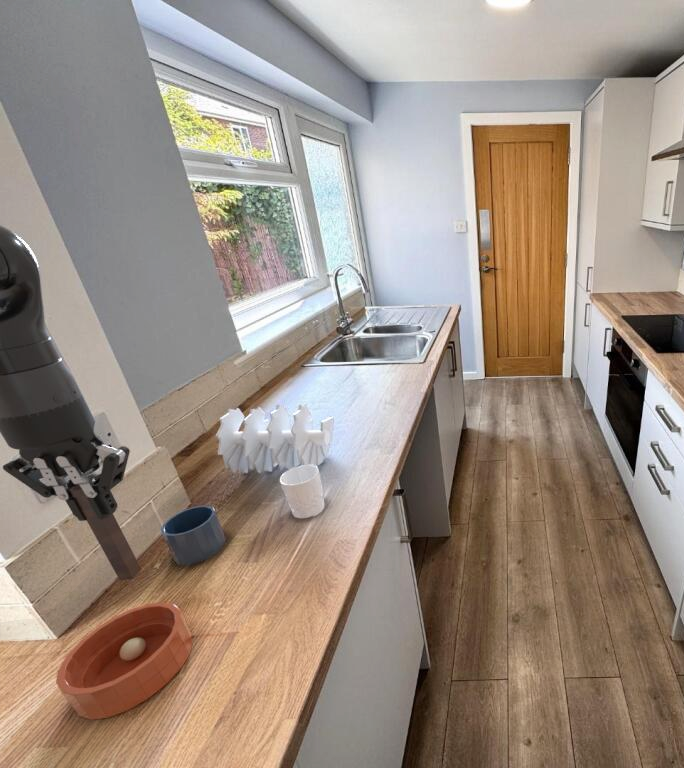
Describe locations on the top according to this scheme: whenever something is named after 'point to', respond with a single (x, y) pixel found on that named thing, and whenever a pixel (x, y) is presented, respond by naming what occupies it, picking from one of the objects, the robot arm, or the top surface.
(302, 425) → the spiral staircase
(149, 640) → the bowl
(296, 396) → the top surface
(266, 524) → the top surface
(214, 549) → the utensil pot
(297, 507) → the white cup
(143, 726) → the top surface
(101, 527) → the stick
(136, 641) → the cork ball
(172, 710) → the top surface
